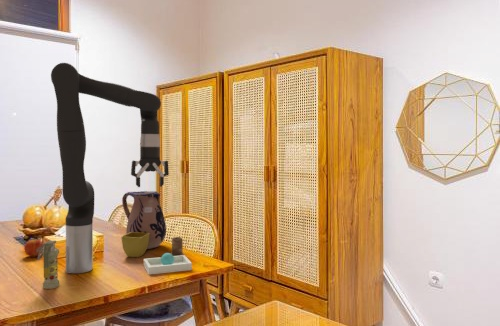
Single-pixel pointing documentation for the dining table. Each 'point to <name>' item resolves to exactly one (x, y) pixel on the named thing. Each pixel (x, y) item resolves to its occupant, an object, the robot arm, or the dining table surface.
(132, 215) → the ceramic pitcher
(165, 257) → the ball
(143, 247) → the flower pot
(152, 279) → the dining table surface
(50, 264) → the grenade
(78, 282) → the dining table surface
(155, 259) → the tray
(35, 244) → the fruit
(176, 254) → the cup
